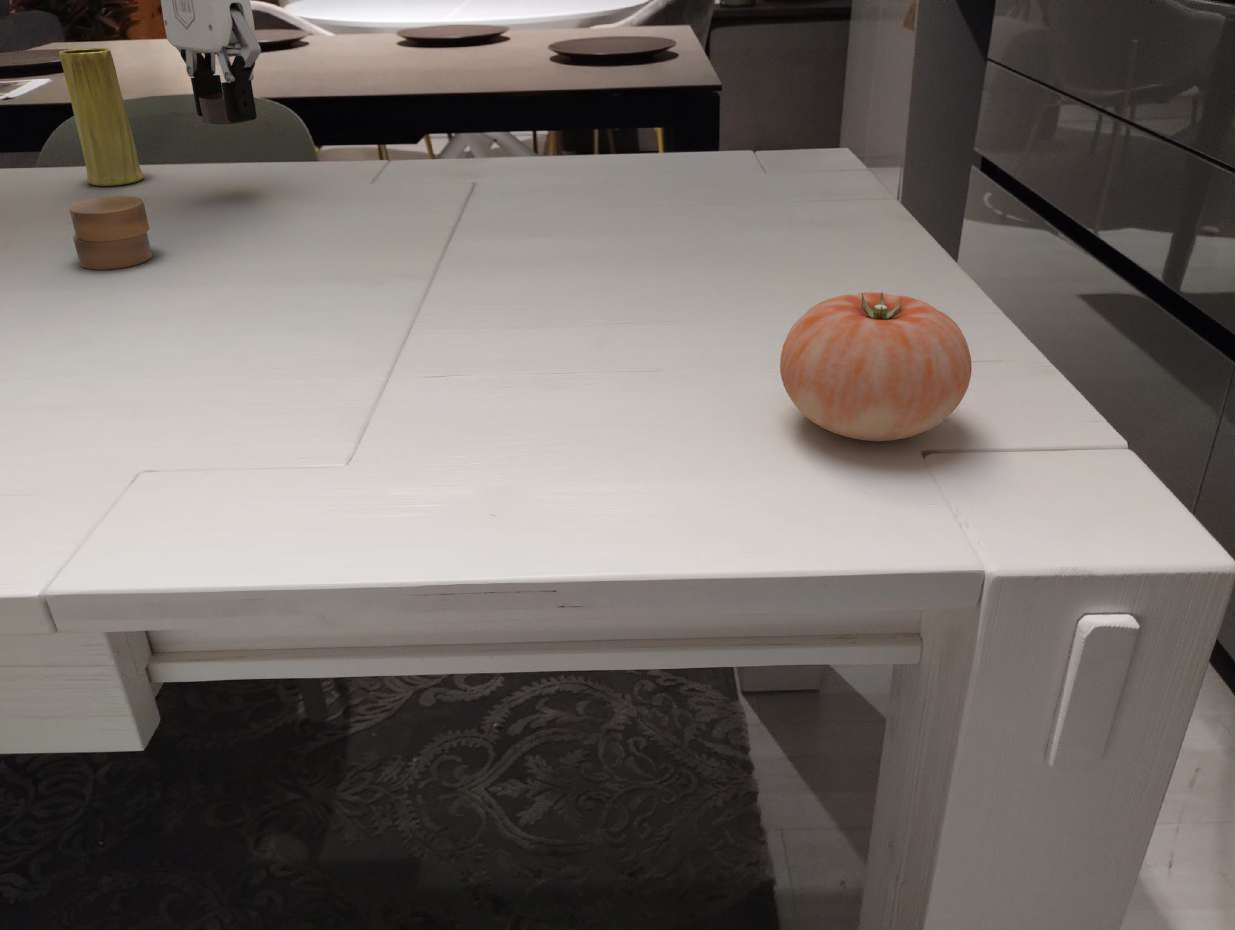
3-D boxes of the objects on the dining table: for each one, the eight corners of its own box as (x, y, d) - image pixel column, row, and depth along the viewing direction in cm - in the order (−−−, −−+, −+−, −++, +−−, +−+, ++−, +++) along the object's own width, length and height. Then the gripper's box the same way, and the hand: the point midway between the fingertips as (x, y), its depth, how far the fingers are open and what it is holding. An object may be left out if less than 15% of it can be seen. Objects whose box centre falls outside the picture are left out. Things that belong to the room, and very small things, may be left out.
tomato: (749, 398, 64) (755, 276, 60) (904, 379, 66) (920, 261, 63) (821, 480, 55) (834, 342, 51) (998, 454, 57) (1024, 320, 53)
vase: (88, 189, 116) (53, 55, 109) (88, 178, 120) (55, 49, 114) (145, 183, 118) (114, 51, 111) (143, 172, 123) (114, 46, 116)
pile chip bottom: (67, 261, 91) (60, 234, 90) (131, 246, 95) (124, 219, 94) (101, 274, 88) (93, 246, 87) (165, 257, 92) (158, 230, 91)
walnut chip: (194, 120, 110) (189, 96, 108) (234, 114, 113) (230, 91, 112) (220, 126, 107) (215, 101, 106) (261, 119, 110) (257, 95, 109)
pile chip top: (64, 234, 90) (56, 206, 89) (128, 219, 94) (121, 192, 93) (97, 246, 87) (90, 217, 86) (162, 230, 91) (156, 202, 90)
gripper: (115, -73, 103) (153, 114, 112) (209, -72, 94) (242, 132, 103) (182, -73, 109) (213, 105, 117) (278, -72, 99) (304, 122, 108)
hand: (226, 116), depth 110 cm, fingers closed on walnut chip, 5 cm apart
